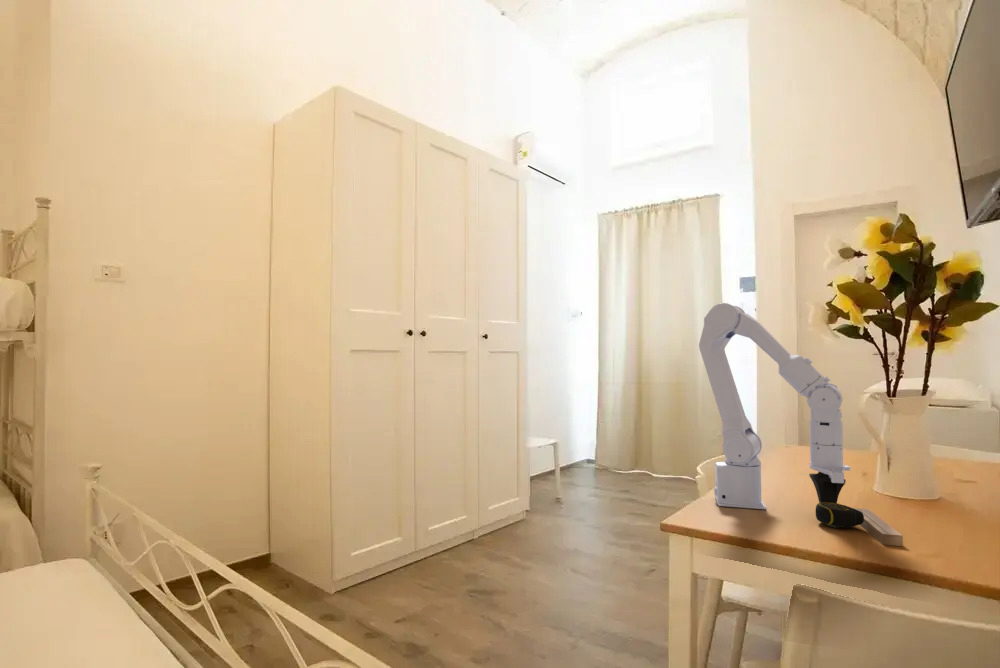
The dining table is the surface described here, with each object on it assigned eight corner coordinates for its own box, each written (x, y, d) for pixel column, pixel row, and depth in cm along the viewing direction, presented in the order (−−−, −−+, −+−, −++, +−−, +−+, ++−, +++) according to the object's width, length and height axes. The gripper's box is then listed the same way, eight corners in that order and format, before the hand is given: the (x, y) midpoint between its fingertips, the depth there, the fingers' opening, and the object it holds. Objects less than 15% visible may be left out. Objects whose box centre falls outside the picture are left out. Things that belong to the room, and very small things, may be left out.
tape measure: (866, 529, 100) (866, 509, 100) (837, 532, 98) (836, 512, 99) (835, 518, 107) (835, 499, 107) (807, 521, 105) (806, 502, 105)
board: (882, 544, 93) (882, 533, 93) (851, 516, 108) (851, 507, 108) (903, 546, 92) (902, 535, 92) (868, 518, 107) (868, 508, 107)
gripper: (861, 450, 101) (863, 523, 100) (837, 438, 114) (838, 502, 114) (819, 448, 103) (821, 520, 102) (800, 437, 116) (801, 500, 116)
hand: (827, 511), depth 108 cm, fingers closed
